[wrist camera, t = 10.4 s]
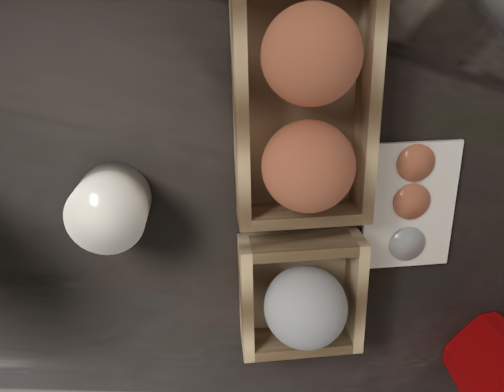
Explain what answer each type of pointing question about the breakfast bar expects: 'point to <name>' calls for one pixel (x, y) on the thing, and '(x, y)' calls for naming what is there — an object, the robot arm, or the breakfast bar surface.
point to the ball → (308, 166)
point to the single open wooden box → (293, 254)
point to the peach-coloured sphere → (311, 53)
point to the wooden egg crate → (303, 116)
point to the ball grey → (305, 307)
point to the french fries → (478, 355)
